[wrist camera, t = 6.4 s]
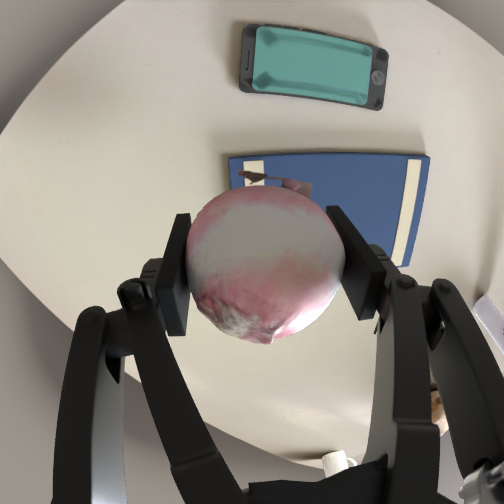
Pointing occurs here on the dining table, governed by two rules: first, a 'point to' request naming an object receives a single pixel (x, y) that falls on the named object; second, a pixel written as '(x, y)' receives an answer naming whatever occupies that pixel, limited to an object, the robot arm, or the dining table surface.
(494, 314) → the perfume bottle
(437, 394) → the ceramic vessel
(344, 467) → the mug
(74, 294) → the dining table surface
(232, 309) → the onion
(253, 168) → the towel
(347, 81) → the smartphone
